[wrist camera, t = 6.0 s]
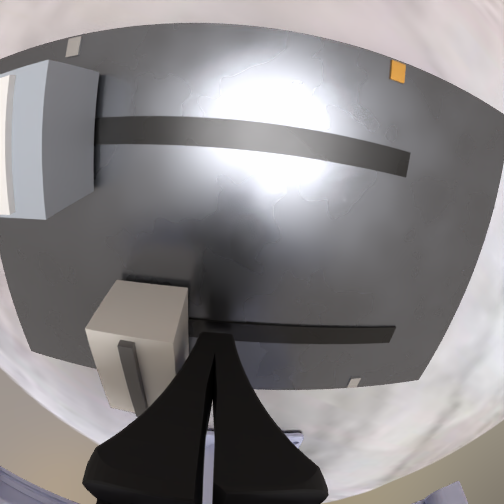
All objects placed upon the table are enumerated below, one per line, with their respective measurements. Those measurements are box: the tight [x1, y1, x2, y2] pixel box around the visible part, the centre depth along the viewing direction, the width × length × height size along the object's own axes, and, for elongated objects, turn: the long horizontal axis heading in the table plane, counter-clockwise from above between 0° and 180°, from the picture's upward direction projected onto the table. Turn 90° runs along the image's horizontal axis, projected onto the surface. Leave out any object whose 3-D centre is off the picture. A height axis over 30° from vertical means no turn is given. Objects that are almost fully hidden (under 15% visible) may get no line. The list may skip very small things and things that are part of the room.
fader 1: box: [0, 60, 99, 220], centre depth 7 cm, size 4×3×4 cm
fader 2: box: [85, 280, 189, 417], centre depth 10 cm, size 4×3×4 cm
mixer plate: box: [0, 23, 504, 390], centre depth 11 cm, size 16×24×1 cm, turn 83°
